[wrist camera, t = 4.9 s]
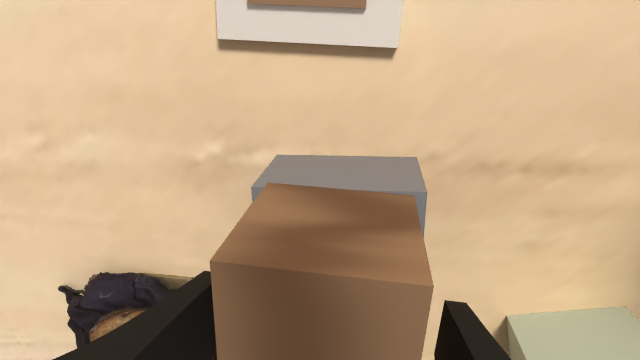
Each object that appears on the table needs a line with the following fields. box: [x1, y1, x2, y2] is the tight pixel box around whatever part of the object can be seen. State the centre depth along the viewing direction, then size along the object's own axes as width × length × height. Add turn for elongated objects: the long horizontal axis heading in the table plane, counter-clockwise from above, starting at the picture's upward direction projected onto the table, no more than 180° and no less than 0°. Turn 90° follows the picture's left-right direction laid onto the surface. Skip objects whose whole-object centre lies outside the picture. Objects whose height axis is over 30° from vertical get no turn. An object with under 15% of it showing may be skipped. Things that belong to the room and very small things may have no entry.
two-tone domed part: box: [58, 272, 217, 360], centre depth 21 cm, size 11×8×4 cm
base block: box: [251, 155, 427, 239], centre depth 16 cm, size 6×6×4 cm
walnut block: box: [210, 183, 434, 360], centre depth 12 cm, size 5×5×5 cm
